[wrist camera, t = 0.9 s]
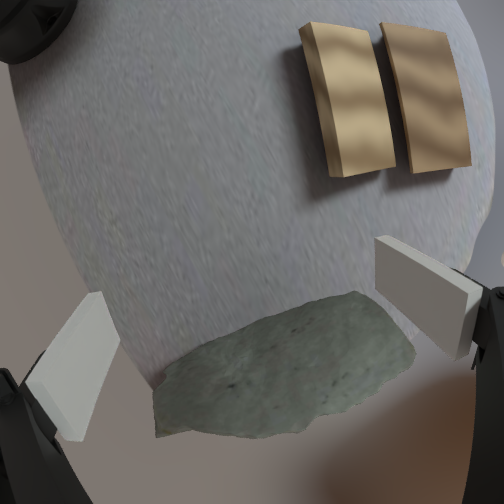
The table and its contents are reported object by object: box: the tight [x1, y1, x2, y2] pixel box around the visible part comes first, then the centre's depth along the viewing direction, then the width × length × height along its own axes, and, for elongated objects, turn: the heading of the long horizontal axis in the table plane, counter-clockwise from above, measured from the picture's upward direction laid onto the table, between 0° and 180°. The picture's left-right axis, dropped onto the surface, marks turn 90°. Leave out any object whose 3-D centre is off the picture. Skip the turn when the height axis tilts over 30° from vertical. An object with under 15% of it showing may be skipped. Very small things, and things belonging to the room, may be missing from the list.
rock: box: [153, 291, 416, 439], centre depth 31 cm, size 27×6×20 cm, turn 113°
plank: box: [298, 22, 396, 177], centre depth 31 cm, size 18×9×5 cm, turn 11°
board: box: [379, 22, 472, 174], centre depth 32 cm, size 20×12×4 cm, turn 11°
